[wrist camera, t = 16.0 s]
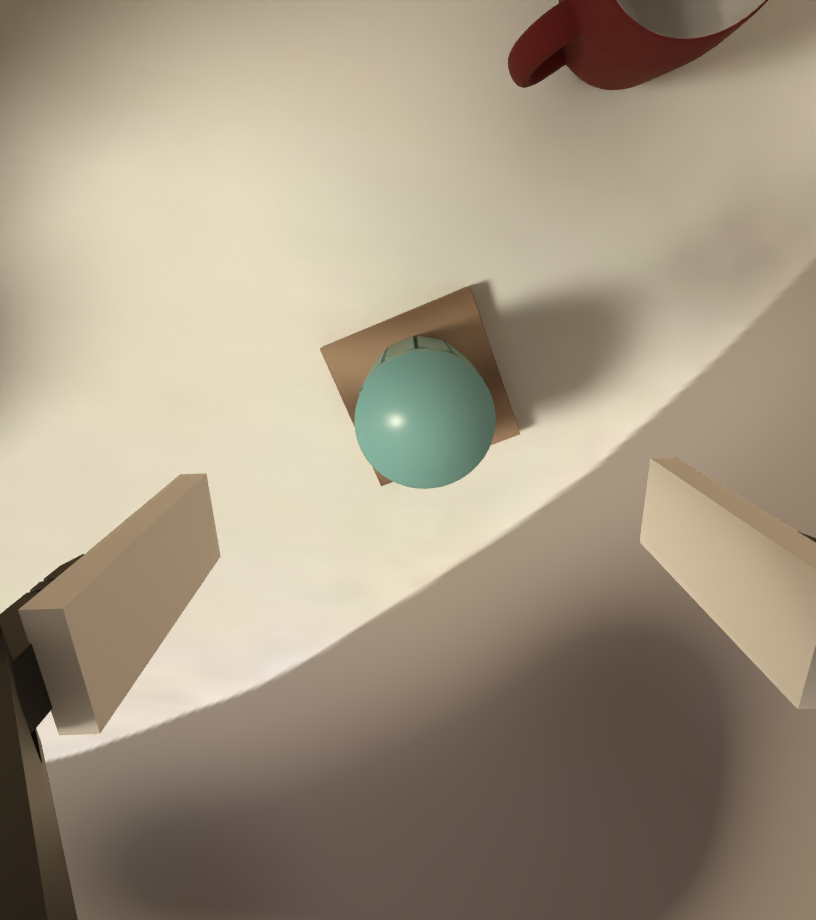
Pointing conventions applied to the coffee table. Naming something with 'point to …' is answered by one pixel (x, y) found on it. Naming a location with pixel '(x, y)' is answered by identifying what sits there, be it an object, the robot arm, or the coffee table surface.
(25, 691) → the robot arm
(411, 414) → the cap
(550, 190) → the coffee table surface
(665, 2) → the mug
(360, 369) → the post base
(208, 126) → the coffee table surface
